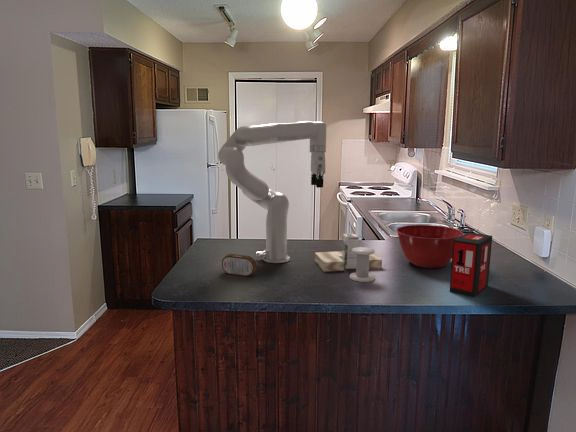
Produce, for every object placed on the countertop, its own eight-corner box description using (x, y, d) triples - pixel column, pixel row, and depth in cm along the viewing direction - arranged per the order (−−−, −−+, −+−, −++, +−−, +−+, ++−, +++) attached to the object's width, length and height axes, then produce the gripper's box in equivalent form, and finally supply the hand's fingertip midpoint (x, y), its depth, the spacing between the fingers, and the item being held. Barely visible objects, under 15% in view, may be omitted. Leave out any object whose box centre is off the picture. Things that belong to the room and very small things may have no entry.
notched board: (324, 271, 193) (324, 262, 192) (314, 260, 208) (314, 252, 207) (381, 268, 197) (382, 259, 197) (368, 258, 213) (368, 250, 212)
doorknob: (354, 282, 179) (355, 253, 176) (346, 274, 188) (347, 247, 186) (378, 281, 180) (379, 252, 178) (369, 273, 190) (370, 246, 188)
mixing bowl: (383, 264, 204) (384, 230, 201) (413, 252, 224) (415, 221, 221) (443, 278, 185) (446, 241, 182) (470, 263, 205) (473, 230, 203)
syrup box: (341, 265, 202) (342, 233, 199) (354, 264, 202) (355, 233, 200) (344, 269, 196) (345, 236, 193) (357, 268, 197) (359, 236, 194)
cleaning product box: (473, 297, 164) (478, 243, 160) (449, 291, 169) (453, 239, 166) (487, 285, 176) (492, 235, 172) (464, 280, 182) (468, 232, 178)
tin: (257, 275, 187) (256, 256, 185) (254, 278, 184) (253, 258, 182) (224, 271, 192) (223, 252, 190) (220, 274, 189) (220, 254, 187)
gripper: (330, 150, 201) (329, 188, 204) (320, 148, 218) (320, 183, 221) (314, 150, 200) (313, 188, 203) (305, 148, 216) (305, 184, 220)
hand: (317, 186), depth 212 cm, fingers open, 9 cm apart
